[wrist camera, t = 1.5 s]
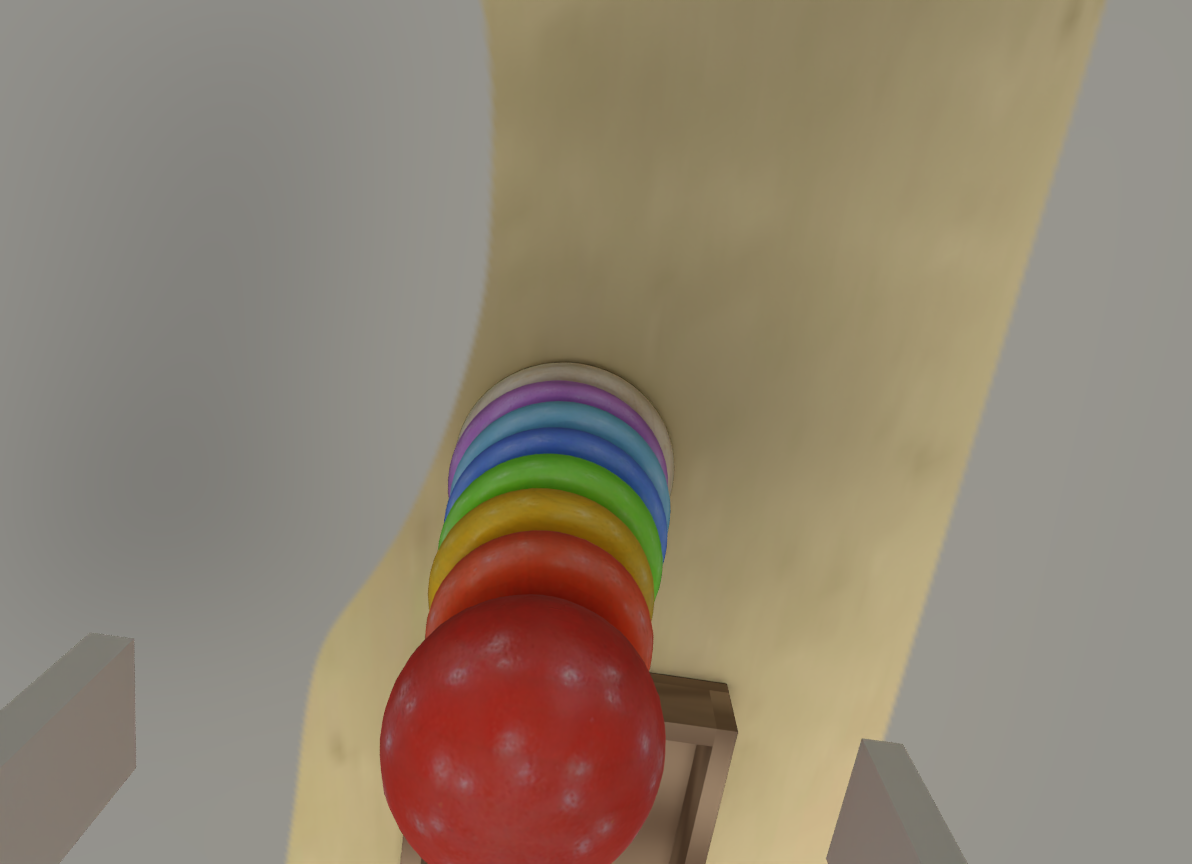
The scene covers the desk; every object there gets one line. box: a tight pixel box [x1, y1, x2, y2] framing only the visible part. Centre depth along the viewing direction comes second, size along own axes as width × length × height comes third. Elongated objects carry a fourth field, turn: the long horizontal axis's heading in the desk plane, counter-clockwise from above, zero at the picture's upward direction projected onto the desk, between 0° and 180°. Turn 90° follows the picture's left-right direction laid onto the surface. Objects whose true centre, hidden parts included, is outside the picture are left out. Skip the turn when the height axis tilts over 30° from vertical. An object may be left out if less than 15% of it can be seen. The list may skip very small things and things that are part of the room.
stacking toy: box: [380, 362, 674, 864], centre depth 21 cm, size 8×8×19 cm
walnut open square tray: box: [400, 673, 738, 864], centre depth 33 cm, size 12×12×3 cm
